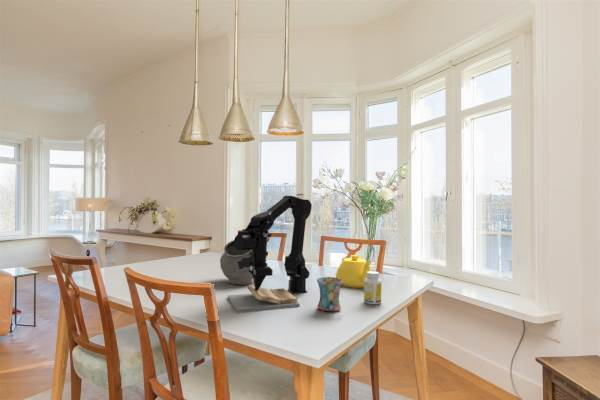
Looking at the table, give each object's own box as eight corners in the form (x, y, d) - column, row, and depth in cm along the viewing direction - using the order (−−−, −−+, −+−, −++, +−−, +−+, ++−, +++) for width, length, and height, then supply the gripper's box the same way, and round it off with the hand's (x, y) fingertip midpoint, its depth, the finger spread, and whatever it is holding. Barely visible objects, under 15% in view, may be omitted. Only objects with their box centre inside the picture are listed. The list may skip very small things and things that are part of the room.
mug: (312, 306, 127) (312, 277, 127) (334, 304, 130) (335, 276, 130) (326, 316, 116) (326, 285, 116) (350, 314, 119) (351, 283, 119)
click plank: (268, 293, 141) (269, 289, 141) (280, 304, 126) (281, 299, 126) (247, 288, 138) (248, 284, 138) (257, 299, 123) (258, 294, 123)
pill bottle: (381, 301, 136) (382, 271, 136) (380, 305, 130) (380, 274, 130) (365, 299, 138) (365, 270, 138) (362, 303, 132) (363, 273, 132)
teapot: (387, 289, 155) (387, 259, 155) (352, 292, 149) (352, 260, 149) (358, 277, 178) (358, 251, 178) (327, 280, 172) (327, 252, 172)
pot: (247, 275, 178) (248, 227, 179) (272, 282, 163) (273, 229, 164) (211, 281, 165) (212, 228, 165) (234, 289, 149) (236, 231, 150)
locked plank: (283, 292, 143) (283, 288, 143) (296, 302, 128) (297, 298, 128) (269, 293, 141) (270, 289, 141) (282, 304, 126) (282, 299, 126)
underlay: (283, 293, 145) (283, 291, 145) (299, 306, 127) (299, 303, 127) (227, 297, 136) (227, 295, 136) (237, 312, 118) (237, 309, 118)
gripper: (233, 245, 137) (230, 285, 136) (243, 252, 119) (240, 297, 119) (260, 246, 141) (258, 284, 141) (274, 252, 124) (271, 296, 123)
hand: (256, 290), depth 131 cm, fingers closed, pressing on click plank
